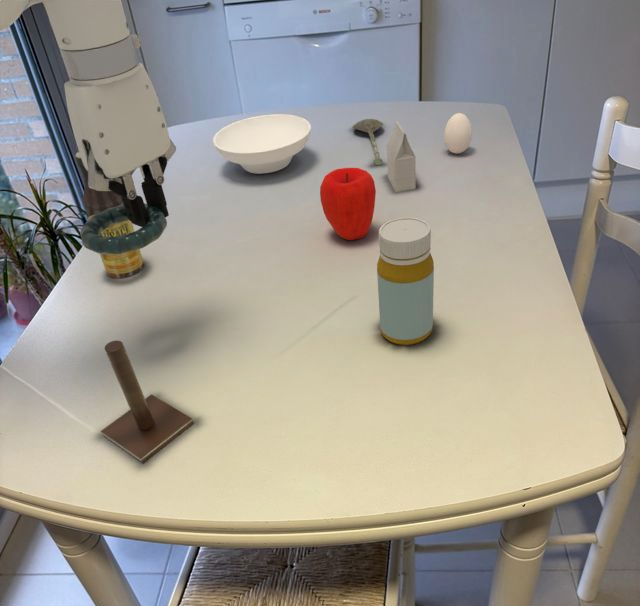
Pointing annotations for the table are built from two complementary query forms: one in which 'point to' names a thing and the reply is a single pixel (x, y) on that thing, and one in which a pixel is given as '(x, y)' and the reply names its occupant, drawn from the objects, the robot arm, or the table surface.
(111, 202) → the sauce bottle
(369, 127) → the soupspoon
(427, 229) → the bottle
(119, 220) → the ring
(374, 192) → the apple
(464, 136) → the egg
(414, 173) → the milk carton
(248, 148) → the bowl
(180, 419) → the peg stand
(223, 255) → the table surface
